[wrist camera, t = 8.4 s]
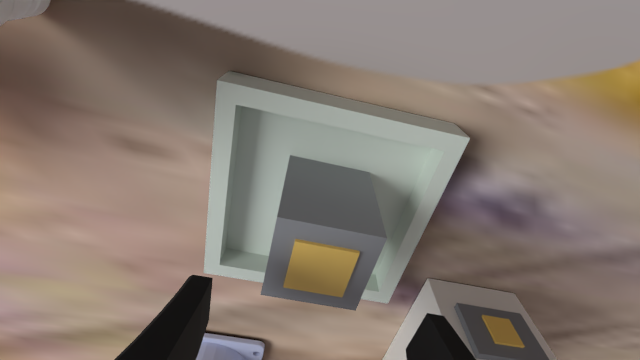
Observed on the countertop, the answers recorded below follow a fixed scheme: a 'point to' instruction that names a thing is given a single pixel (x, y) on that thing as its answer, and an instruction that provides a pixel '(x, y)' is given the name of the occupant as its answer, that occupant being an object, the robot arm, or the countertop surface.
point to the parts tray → (325, 146)
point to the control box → (475, 322)
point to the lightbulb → (21, 9)
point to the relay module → (324, 235)
